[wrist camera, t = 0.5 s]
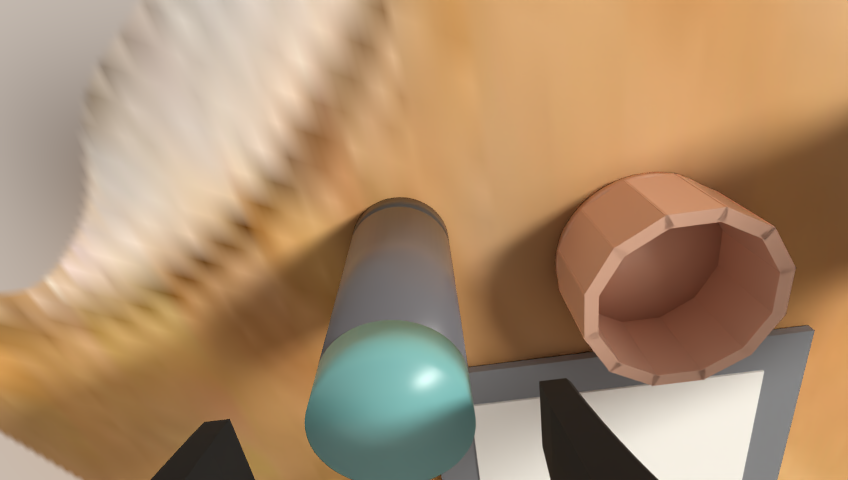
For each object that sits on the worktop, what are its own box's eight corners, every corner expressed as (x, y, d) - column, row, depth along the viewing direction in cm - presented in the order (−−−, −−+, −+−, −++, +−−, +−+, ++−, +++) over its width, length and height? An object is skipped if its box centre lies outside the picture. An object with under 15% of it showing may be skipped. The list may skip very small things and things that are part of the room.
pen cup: (737, 159, 19) (812, 195, 16) (715, 312, 22) (773, 371, 19) (552, 184, 20) (584, 225, 16) (556, 332, 23) (583, 394, 19)
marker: (442, 191, 20) (466, 349, 11) (453, 277, 21) (483, 476, 12) (343, 204, 20) (285, 372, 11) (362, 289, 21) (325, 494, 12)
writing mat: (808, 325, 23) (816, 332, 22) (763, 509, 28) (769, 518, 28) (423, 372, 24) (424, 380, 23) (454, 543, 29) (454, 552, 29)
